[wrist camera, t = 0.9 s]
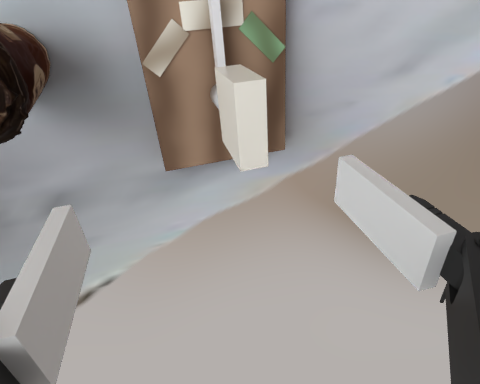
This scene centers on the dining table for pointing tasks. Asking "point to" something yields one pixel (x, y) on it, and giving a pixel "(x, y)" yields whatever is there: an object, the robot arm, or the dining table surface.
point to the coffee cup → (19, 77)
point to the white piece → (239, 103)
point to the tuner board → (206, 70)
